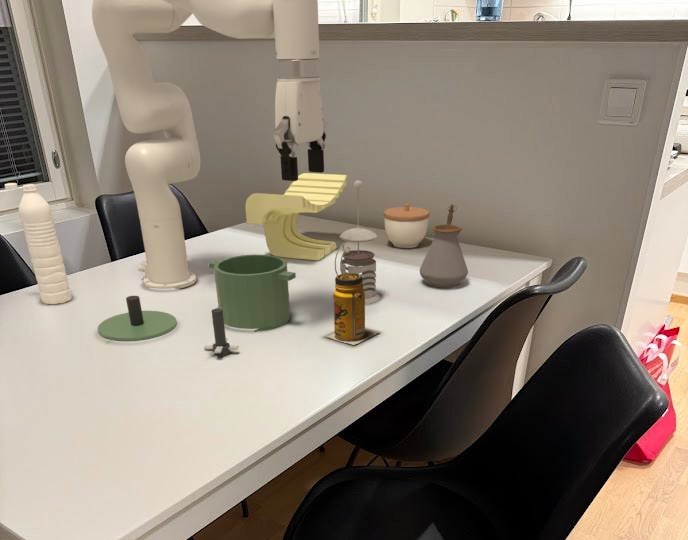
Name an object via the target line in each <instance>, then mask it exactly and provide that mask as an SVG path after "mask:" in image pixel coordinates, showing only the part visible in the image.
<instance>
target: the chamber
mask: <svg viewBox="0 0 688 540" xmlns="http://www.w3.org/2000/svg"><path fill="white" fill-rule="evenodd" d="M208 268H209V269H213V271H214V281H215V288H216V297H217V298H216V299H217V308H219V309H222V310H223V319H224V325H226V326H228V327H232V328H236V329H243V330H244V329H245V330H254V332H260V331H268V330H271V329H272V330H273V329H277V328H279V327H281V326H283V325H285V324H287V323H288V322H289V321H290V318H291V316H290V315H291V309H290V292H289V290H290V289H289V282H290V281H292V280H294V279H296V278H297V276H296V275H297V274H296V272H292V271H288V262H287V261H286V260H285V259H284V258H283V257H277V256H274V255H269V254H241V255H235V256H230V257H227V258H223V259H221V260H213V261H211V262H208ZM255 329H256V330H255Z"/></svg>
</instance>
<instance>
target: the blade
mask: <svg viewBox="0 0 688 540" xmlns="http://www.w3.org/2000/svg"><path fill="white" fill-rule="evenodd" d="M211 318H212V327H213V335H214V343H213V344H211V345H210V344H209V345H208V344H205V345H204V346H203V350H212V352H213V355H214V356H216V357H226V356H229V355H230V354H231V351H233V350H234V351H238V349H239V347H240V346H239V345H231V344H230V343H229V342H228V337H226V328H225V324H224V319H223V310H222V309H219V307H217V308H213V309H211Z"/></svg>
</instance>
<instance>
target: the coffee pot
mask: <svg viewBox="0 0 688 540" xmlns="http://www.w3.org/2000/svg"><path fill="white" fill-rule="evenodd" d="M454 209H455V210H454ZM447 210H448V214H447V220H446V224H436V225H434V226H433V227H432V231H433V232H434V238H433V240H432V242H431V244H430V246H429V249H428V250H427V252H426V255H425V257H424V259H423V261H422V264H421V265H420V268H419V273H420V275H419V276H420V277H421V278H422V279H423V280H424V281H425V282H426V284H427V285H429V286H431V287H434V288H441V289H442V288H443V289H445V288H446V289H447V288H454V287H457V286H459V285H460V283H461V282H463V281H464V280H465V279H466V278H467V276H468V275H469V270H468V267H467V263H466V261H465V257H464V253H463V251H462V249H461V248H462V247H461V245H460V242H459V238H458V236H459V234H460V233H461V231H463V228H462V227H460V226H458V225H455V224H452V222H453V218H454V214H453V213H455V212H456V211H458V207H457V206H455V205H454V204H451V205H448V207H447Z"/></svg>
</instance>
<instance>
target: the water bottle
mask: <svg viewBox="0 0 688 540" xmlns="http://www.w3.org/2000/svg"><path fill="white" fill-rule="evenodd" d="M18 186H19V185H18V183H16V182H8V183H5V184H4V188H5V190H7V191H13V190H17V189H19V187H18ZM22 187H23V189H22V191H23V195H22V197H21V199H20V202H19V205H18V215H19V218H20V221H21V225H22V229H23V233H24V237H25V240H26V245H27V248H28V252H29V256H30V260H31V264H32V266H33V267H32V268H33V271H34V276H35V279H36V282H37V288H38V291H39V295H40V299H41V303H43V304H46V305H57V304H64V303H67V302H70V301H71V299H72V297H73V296H72V292H71V288H70V284H69V283H70V282H69V280H68V275H67V271H66V267H65V263H64V258H63V255H62V253H61V252H62V250H61V246H60V242H59V238H58V234H57V230H56V227H55V226H56V225H55V223H54V222H55V221H54V216H53V211H52V208H51V206H50V204H49V202H47V200H45V199H44V197H43V196H42V195H41V194H40V193H39V192H38V191H37V188H36V184H33V183H28V184H23V185H22Z"/></svg>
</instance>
